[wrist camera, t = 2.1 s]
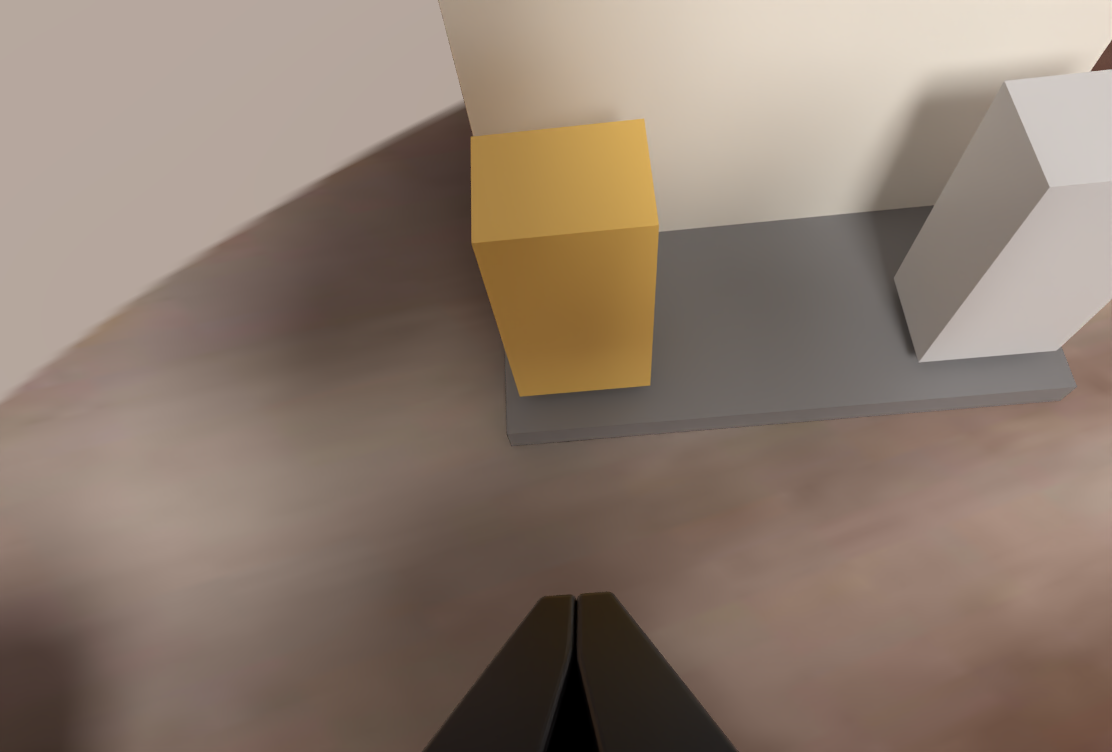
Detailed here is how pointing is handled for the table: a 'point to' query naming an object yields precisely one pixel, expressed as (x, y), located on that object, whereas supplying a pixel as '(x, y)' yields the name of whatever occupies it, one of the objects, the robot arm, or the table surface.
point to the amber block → (568, 253)
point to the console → (775, 187)
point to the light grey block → (1018, 226)
